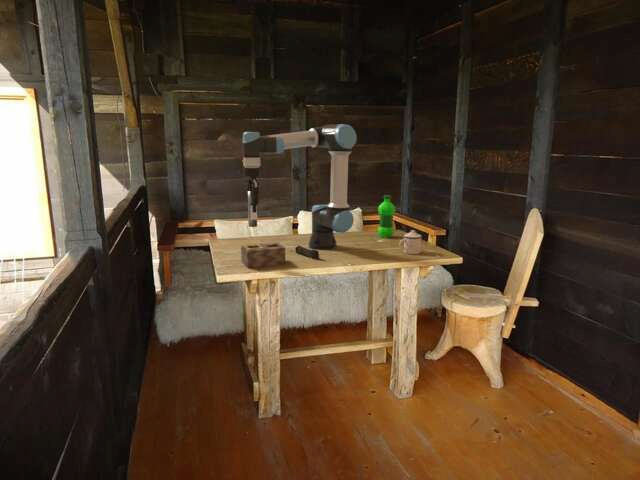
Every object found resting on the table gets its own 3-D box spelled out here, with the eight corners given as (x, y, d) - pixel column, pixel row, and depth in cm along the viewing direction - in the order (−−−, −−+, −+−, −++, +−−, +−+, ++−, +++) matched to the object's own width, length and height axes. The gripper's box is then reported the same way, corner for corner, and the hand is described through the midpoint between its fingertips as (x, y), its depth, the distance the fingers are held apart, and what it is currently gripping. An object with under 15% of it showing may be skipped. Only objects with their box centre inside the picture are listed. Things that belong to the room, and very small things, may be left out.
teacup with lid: (415, 250, 255) (416, 228, 253) (424, 253, 247) (425, 231, 244) (395, 251, 252) (396, 229, 249) (403, 255, 243) (404, 232, 241)
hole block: (277, 258, 235) (277, 242, 233) (285, 264, 224) (285, 247, 222) (241, 261, 228) (240, 244, 226) (247, 268, 217) (247, 250, 215)
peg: (255, 225, 223) (255, 190, 220) (258, 226, 219) (257, 191, 216) (247, 225, 221) (246, 191, 218) (249, 227, 218) (248, 192, 215)
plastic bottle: (374, 235, 292) (375, 194, 287) (390, 235, 295) (392, 194, 290) (380, 239, 283) (381, 196, 278) (397, 238, 285) (398, 196, 280)
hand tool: (294, 253, 246) (294, 244, 245) (301, 252, 249) (301, 243, 248) (313, 261, 231) (313, 252, 230) (320, 260, 233) (320, 251, 232)
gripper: (239, 166, 221) (240, 216, 226) (248, 168, 206) (249, 222, 211) (255, 166, 224) (255, 215, 229) (265, 168, 209) (265, 221, 213)
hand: (252, 218), depth 220 cm, fingers closed on peg, 4 cm apart
